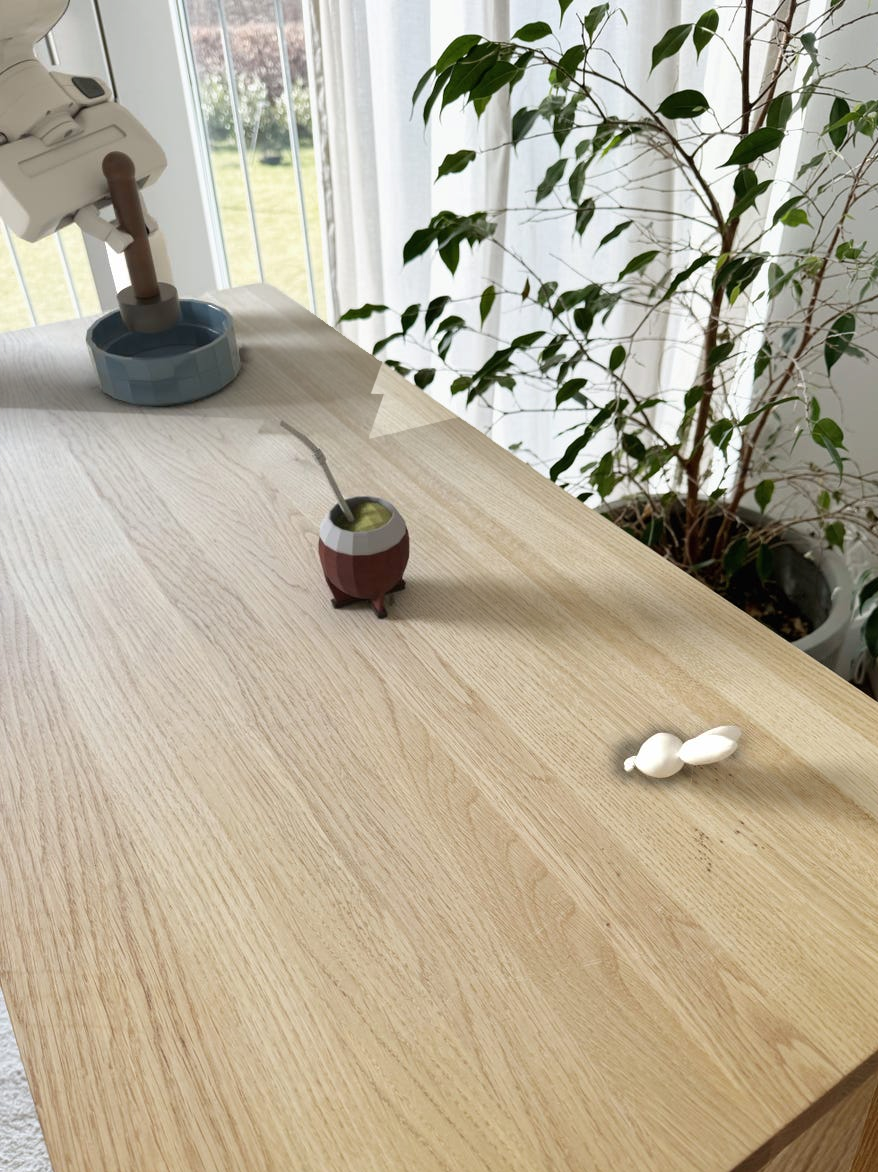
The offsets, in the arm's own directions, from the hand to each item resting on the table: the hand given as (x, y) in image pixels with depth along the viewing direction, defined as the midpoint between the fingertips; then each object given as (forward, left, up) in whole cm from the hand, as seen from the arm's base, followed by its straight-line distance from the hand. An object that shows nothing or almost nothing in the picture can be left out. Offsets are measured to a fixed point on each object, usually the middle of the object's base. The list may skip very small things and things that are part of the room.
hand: (139, 241), depth 99 cm
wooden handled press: (-1, 0, -8) cm, 8 cm away
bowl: (-1, +2, -15) cm, 15 cm away
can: (-7, +14, -15) cm, 22 cm away
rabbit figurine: (+52, -51, -15) cm, 75 cm away
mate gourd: (+27, -34, -15) cm, 46 cm away
